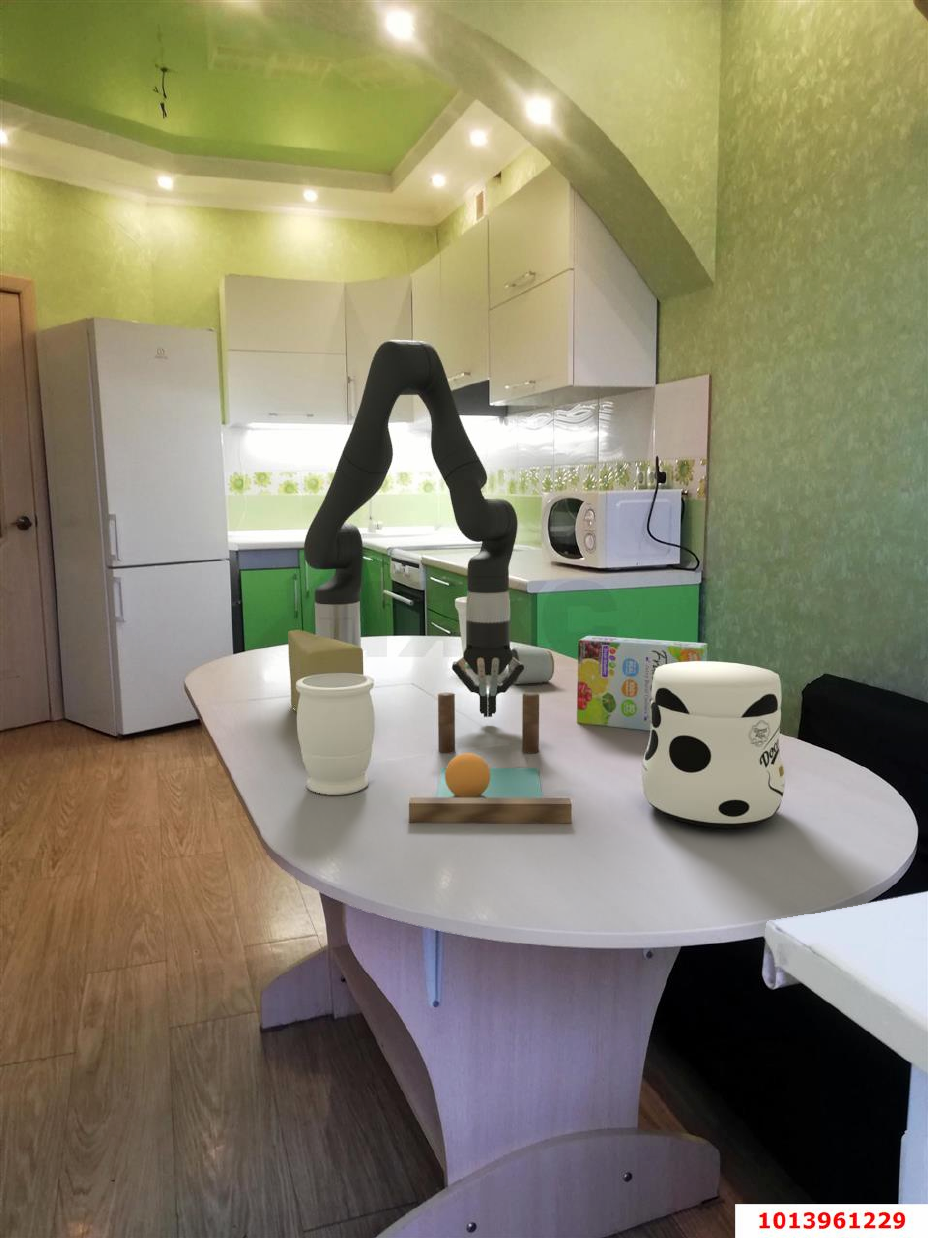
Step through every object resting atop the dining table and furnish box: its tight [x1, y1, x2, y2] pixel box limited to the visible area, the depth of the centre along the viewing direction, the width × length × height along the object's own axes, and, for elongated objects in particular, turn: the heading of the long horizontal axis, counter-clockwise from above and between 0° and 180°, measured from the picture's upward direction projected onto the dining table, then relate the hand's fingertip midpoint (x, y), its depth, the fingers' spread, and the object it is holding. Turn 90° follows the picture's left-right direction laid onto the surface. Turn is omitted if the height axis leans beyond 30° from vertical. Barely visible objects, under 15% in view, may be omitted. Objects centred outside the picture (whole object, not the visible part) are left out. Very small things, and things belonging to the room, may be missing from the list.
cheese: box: [287, 629, 364, 712], centre depth 152 cm, size 22×10×15 cm, turn 31°
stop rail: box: [408, 796, 573, 824], centre depth 107 cm, size 20×2×2 cm, turn 89°
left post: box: [437, 692, 456, 754], centre depth 134 cm, size 3×3×9 cm
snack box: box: [576, 635, 709, 732], centre depth 147 cm, size 21×6×15 cm, turn 65°
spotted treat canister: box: [641, 660, 786, 829], centre depth 108 cm, size 17×17×18 cm
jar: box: [296, 673, 376, 796], centre depth 118 cm, size 11×10×15 cm
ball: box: [445, 752, 490, 798], centre depth 114 cm, size 6×6×6 cm
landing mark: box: [436, 767, 543, 798], centre depth 119 cm, size 14×14×1 cm
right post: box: [521, 692, 540, 754], centre depth 134 cm, size 3×3×9 cm
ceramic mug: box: [507, 647, 555, 685], centre depth 182 cm, size 11×8×8 cm
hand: (488, 715), depth 149 cm, fingers closed
